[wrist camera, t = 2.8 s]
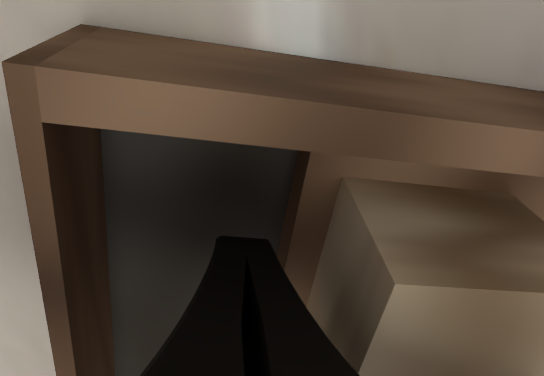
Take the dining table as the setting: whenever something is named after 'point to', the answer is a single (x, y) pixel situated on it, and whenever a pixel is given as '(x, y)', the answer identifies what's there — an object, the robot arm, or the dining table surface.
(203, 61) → the trap box
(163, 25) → the dining table surface
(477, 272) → the birch block
